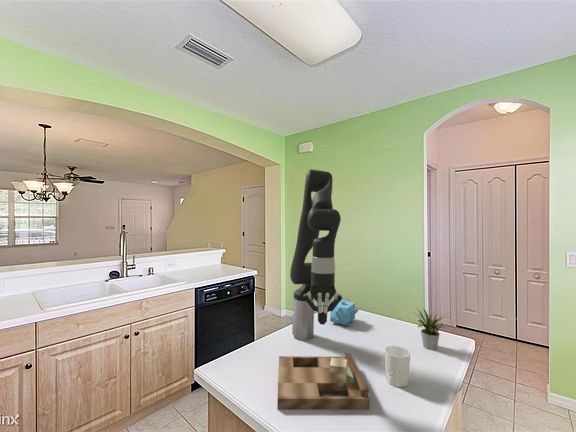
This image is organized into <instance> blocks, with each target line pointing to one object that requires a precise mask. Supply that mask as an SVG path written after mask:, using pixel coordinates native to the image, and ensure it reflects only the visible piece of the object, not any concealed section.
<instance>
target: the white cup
mask: <svg viewBox="0 0 576 432" xmlns="http://www.w3.org/2000/svg"><path fill="white" fill-rule="evenodd" d="M384 359H385V360H384V361H385V362H384V363H385V364H384V365H385V380H386V381H387V383H388V384H389V385H392V386H394V387H395V388H396V387H397V388H405V387H408V385H409V377H410V367H411V366H410V365H411V364H410V363H411V352H410V351H409V350H408V349H406V348H405V347H402V346H397V345H388V346H386V347H385V348H384Z"/></svg>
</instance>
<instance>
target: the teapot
mask: <svg viewBox="0 0 576 432" xmlns="http://www.w3.org/2000/svg"><path fill="white" fill-rule="evenodd" d="M331 302H332V301H331V300H330V301H329V303H328V306H329V305H330V304H331ZM359 310H360V309H359V308H356V303H355V302H352V301H346V300H341V301H340V302H339V303H338V305H337V306H336V307H335V308H334V310H333V311H329V313H330V314H329V315H330V316H329V321H330V323H333V324H334V325H338V324H341V325H343V327H344V328H345V327H348V326H349V325H350V324H352V323H353V321H355V319H356V314H357V313H358V312H359Z"/></svg>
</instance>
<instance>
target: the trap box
mask: <svg viewBox="0 0 576 432" xmlns="http://www.w3.org/2000/svg"><path fill="white" fill-rule="evenodd" d="M331 357H332V358H339V359H346V360H347V378H346V384H344V383H338V382H332V381H330V362H331ZM277 375H278V378H277V379H278V380H277V382H278V383H277V408H276V409H277V410H370V397H369V388H368V386H367V384H366V382H365V379H364V377H363V375H362V374H361V371H360V370H359V367H358V365H357V363H356V361H355V359H354V358H353V355H352V353H351V352H344V356H308V355H307V356H305V355H304V356H297V355H296V356H294V355H293V356H287V355H286V356H278V374H277Z"/></svg>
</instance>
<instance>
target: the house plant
mask: <svg viewBox="0 0 576 432" xmlns="http://www.w3.org/2000/svg"><path fill="white" fill-rule="evenodd" d="M413 308H416V307H415V306H413ZM416 309H417V311H418V314H417V313H416V312H414V311H413V314H414V313H415V314H414V315H416V316H417V317H418V318H420V319H418V320H417V322H418V325H417V328H422V329H421V330H420V334H421V341H422V346H423V348H424V349H426V350H431V351H436V350H438V344H439V338H440V332H439V331H440V330H439V329H441V328H445V324H443V325H442V324H441V323H439V322H440V320H442V319H443V318H444V317H446V316H447V314H444V315H442V316H441V317H439V318H437V316H438V312H436V313H435V312H434V313H432V312H433V310H434V308H432V309H431V312H430V315H429V314H428V312H427V311H426V309H425V308H422V310H423V312H424V315H425V317H424V315H423V313H422V311H420V309H418V308H416ZM433 314H434V318H433V319H432V317H433ZM417 322H413V323H416V324H417ZM419 323H420V324H419Z"/></svg>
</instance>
